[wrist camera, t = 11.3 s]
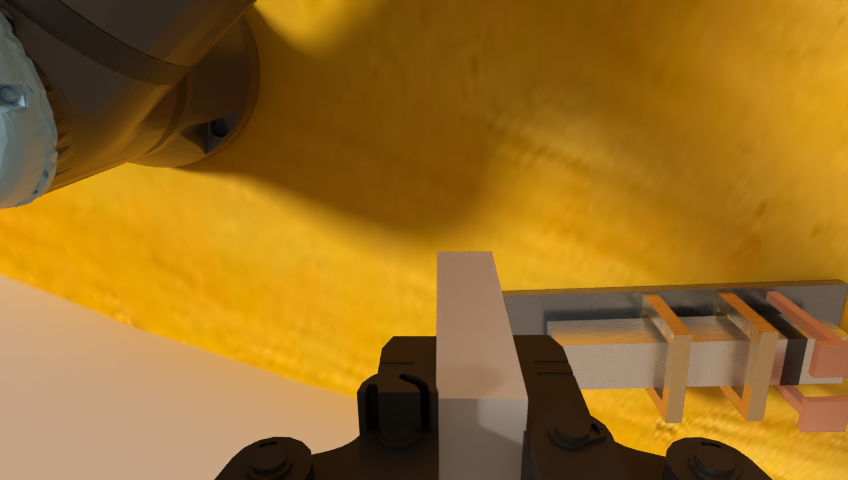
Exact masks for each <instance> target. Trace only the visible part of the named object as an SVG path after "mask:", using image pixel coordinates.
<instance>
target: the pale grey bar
mask: <svg viewBox="0 0 848 480" xmlns="http://www.w3.org/2000/svg"><path fill="white" fill-rule="evenodd" d="M807 314H809V315H810V316H811V317H813V318H814V319H815V320H817V321H818V322H819V323H821V324H822V325H823V326H825V327H826V328H828V329H829V330H830V331H832V332H833V333H834V334H836V335H837V336H838V337H840V338H841V339H842V340H848V334H847V333H846V332H844V331H843V330H842V329H840V328H839V327H837V326H836V325H835V324H833V323H832V322H830V321H829V320H828V319H826V318H825V317H823V316H822V315H821V314H819V313H807ZM759 315H760V316H761V317H762V318H763V319H764V320H765V321H767V322H768V323H769V324H770V325H771V326H772V327H773V328H775V329H776V330H777V331H778V332H779V335H778V340H777V345H776V351H775V356H774V362H773V367H772V373H771V378H770V384H769V385H780V386H785V385H799V384H829V383H842V382H843V378H844V377H839V378H813V377H812V376H811V375H810V374H808V372H809V367H810V362H811V358H812V353H813V348H814V343H815V341H816V340H815V339H814V338H813V337H811V336H810V335H809V334H808V333H806V332H805V331H804V330H803V329H801V328H800V327H799V326H797V325H796V324H795V323H794V322H792V321H791V320H790V319H789V318H787V317H786V316H785V315H784V314H759ZM678 318H679V319H680V320H681V322H682V323H683V324H684V325H685V326H686V327H687V329H688V330H689V331H690V332H691V333H692V334H693V336H692V344H691V352H690V360H689V368H688V376H687V384H686V387H705V386H744V384H745V378H746V372H747V366H748V360H749V354H750V348H751V342H752V340H751V339H750V338H749V337H748V336H747V335H746V334H745V333H743V332H742V331H741V330H740V329H739V328H738V327H737V326H736V325H735V324H734V323H733V322H732V321H731V320H730V319H729V318H728V317H727V316H705V317H678ZM547 335H550V336H551V337H552V338H553V339H554V340H555V341H557V342H558V343H559V344H560V345H561V346H562V347H563V348H564V351H565V353H566V356H567V358H568V361H569V364H570V366H571V368H572V371H573V376H575V378H576V381H577V383H578V386H579V388H580V389H622V388H663V387H664V380H665V371H666V362H667V353H668V344H669V343H668V341H667V340H666V339H665V337H664V336H663V335H662V333H661V332H660V331H659V329H658V328H657V327H656V325H655V324H654V323H653V321H652V320H651V319H650V318H639V319H606V320H574V321H547Z"/></svg>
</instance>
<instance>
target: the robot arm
mask: <svg viewBox="0 0 848 480" xmlns="http://www.w3.org/2000/svg"><path fill="white" fill-rule="evenodd" d="M256 1H257V0H0V209H3V208H11V207H18V206H21V205H25V204H29V203H31V202H32V201H33V200H34V199H36V198H38V197H40V196H42V195H44V194H46V193H49V192H51V191H54V190H57V189H59V188H62V187H64V186H67V185H69V184H72V183H75V182H77V181H80V180H82V179H85V178H88V177H90V176H93V175H95V174H98V173H101V172H103V171H106V170H108V169H111V168H114V167H116V166H119V165H121V164H124V163H127V162H129V163H134V164H139V165H144V166H151V167H176V166H183V165H187V164H191V163H194V162H197V161H200V160H202V159H204V158H206V157H209V156H211V155H213V154H215V153H217V152H218V151H220V150H222V149H223V148H225V147H226V146H227V145H228V144H230V143H231V142H232V141H233V140H234V139H235V138H236V137H237V136H238V135H239V134H240V132H241V131H242V130H243V128H244V127H245V125H246V124H247V122H248V120H249V118H250V116H251V114H252V112H253V109H254V106H255V103H256V99H257V94H258V88H259V62H258V55H257V50H256V46H255V43H254V39H253V36H252V34H251V31H250V29H249V27H248V24H247V22H246V20H245V18H244V17H243V14H244V13H245V12H246V11H247V10H248V9H249V8H250V7H251V6H252V5H253V4H254V3H255V2H256ZM357 401H358V416H359V431H360V435H359V436H358V437H357V438H356V439H355V440H353V441H352V442H350V443H349V444H346V445H344V446H343V447H339V448H336V449H334V450H330V451H326V452H322V453H317V454H313V455H311V450H310V449H309V448H308V447H307V446H306V445H305V444H304V443H303V442H301V441H299V440H296V439H293V438H291V437H272V438H268V439H263V440H259V441H257V442H255V443H253V444H251V445H248V446H247V447H244V448H243V449H242V450H241V451H240V452H239V453H238V454H237V455H235V456H234V457H233V458H232V459H231V460H230V462H229V463H228V464H227V465H226V466H225V468H224V469H223V470H222V471H221V472H220V474H219V475H218V476H217V477H216V478H215V480H772V479H771V478H770V477H769V476H768V475H767V474H766V473H765V472H764V471H762V470H761V469H760V468H759V467H758V466H757V465H756V464H755V463H754V462H753V461H752V460H751V459H749V458H748V457H746V456H745V455H744V454H742V453H741V452H740V451H738V450H737V449H735V448H733V447H731V446H728V445H726V444H724V443H721V442H719V441H715V440H711V439H706V438H702V437H693V438H683V439H680V440H678V441H675V442H673V443H672V444H671V446H670V447H669V448H668V449H667V452H666V457H664V456H660V455H655V454H651V453H647V452H643V451H638V450H635V449H632V448H629V447H625V446H623V445H621V444H619V443H617V442H615V441H614V438H613V436H612V434H611V433H610V431H609V430H608V429H607V427H606V426H605V425H604V424H603V423H601V422H600V421H598V420H597V419H596V418H594V417H593V416H591V415H590V413H589V410H588V408H587V406H586V403H585V401H584V398H583V396H582V393H581V391H580V388H579V386H578V383H577V381H576V378H575V376H573V371H572V368H571V366H570V364H569V361H568V358H567V356H566V353H565V351H564V348H563V347H562V346H561V345H560V344H559V343H558V342H557V341H555V340H554V339H553V338H552V337H551V336H550V335H512V332H511V328H510V324H509V319H508V315H507V311H506V307H505V303H504V299H503V295H502V291H501V287H500V283H499V279H498V275H497V271H496V267H495V263H494V259H493V255H492V252H437V336H393V337H392V338H391V339H390V341H389V342H388V343H387V344H386V345H385V346H384V347H383V348H382V352H381V357H380V365H379V368H378V374H375V375H373V376H371V377H370V378H368V379H367V380H366V381H364V382H363V383H362V384H361V386H360V388H359V389H358V391H357Z"/></svg>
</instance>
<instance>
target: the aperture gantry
mask: <svg viewBox="0 0 848 480" xmlns="http://www.w3.org/2000/svg"><path fill="white" fill-rule="evenodd" d="M766 301H767V302H769V303H770V304H771V305H772V306H774V307H775V308H776V309H777V310H779V311H780V312H781V313H782V314H784V315H785V316H786V317H787V318H789V319H790V320H791V321H792V322H794V323H795V324H796V325H797V326H799V327H800V328H801V329H803V330H804V331H805V332H806V333H808V334H809V335H810V336H811V337H813V338H814V339H815V340H816V341H815V343H814V348H813V353H812V358H811V362H810V367H809V372H808V374H810V375H811V376H812V377H813V378H839V377H848V340H842V339H841V338H840V337H838V336H837V335H836V334H834V333H833V332H832V331H830V330H829V329H828V328H826V327H825V326H823V325H822V324H821V323H819V322H818V321H817V320H815V319H814V318H813V317H811V316H810V315H809V314H807V313H806V312H805V311H803V310H802V309H801V308H799V307H798V306H796V305H795V304H794V303H792V302H791V301H790V300H788V299H787V298H786V297H784V296H783V295H782V294H780V293H779V292H778V291H772V292H767V297H766ZM773 386H774V387H775V388H776V389H777V391H778V392H779V393H780V394H781V395H782V396H783V397H784V398H785V399H786V400H787V401H788V402H789V403H790V404H791V405H792V406H793V407H794V408H795V409H796V410H797V411H798V412H799V413H800V415H799V420H798V424H797V428H798V429H799V430H800V431H801V432H845V428H846V424H847V420H848V397H847V396H832V397H804V396H803V395H802V394H801V393H800V392H799V391H798V390H797V389H796V388H795V387H794V386H793V385H785V386H780V385H773Z"/></svg>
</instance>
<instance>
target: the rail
mask: <svg viewBox="0 0 848 480" xmlns="http://www.w3.org/2000/svg"><path fill="white" fill-rule="evenodd" d="M847 288H848V284H846V283H845V282H843V281H841V280H816V281H786V282H756V283H726V284H696V285H665V286H635V287H605V288H575V289H545V290H515V291H502V295H503V299H504V303H505V307H506V311H507V315H508V319H509V324H510V328H511V332H512V335H547V321H574V320H606V319H639V318H650V319H651V320H652V321H653V323H654V324H655V325H656V327H657V328H658V329H659V331H660V332H661V333H662V335H663V336H664V337H665V339H666V340H667V341H668V343H669V344H668V353H667V362H666V371H665V380H664V387H663V388H645V389H646V390H647V392H648V394H649V396H650V397H651V399H652V401H653V402H654V404H655V406H656V408H657V409H658V411H659V413H660V414H661V416H662V418H663V420H664V421H665V423H682V416H683V408H684V400H685V392H686V384H687V376H688V368H689V360H690V352H691V344H692V336H693V334H692V333H691V332H690V331H689V330H688V329H687V327H686V326H685V325H684V324H683V323H682V322H681V320H680V319H679V318H678V317H705V316H727V317H728V318H729V319H730V320H731V321H732V322H733V323H734V324H735V325H736V326H737V327H738V328H739V329H740V330H741V331H742V332H743V333H745V334H746V335H747V336H748V337H749V338H750V339H751V340H752V342H751V348H750V354H749V360H748V366H747V372H746V378H745V384H744V386H718V387H719V388H720V389H721V390H722V392H723V393H724V394H725V395H726V397H727V398H728V399H729V400H730V402H731V403H732V404H733V405H734V407H735V408H736V409H737V410H738V412H739V413H740V414H741V415H742V417H743V418H744V419H745V420H746V421H763V416H764V411H765V405H766V400H767V394H768V389H769V384H770V378H771V373H772V367H773V362H774V356H775V351H776V345H777V340H778V335H779V332H778V331H777V330H776V329H775V328H773V327H772V326H771V325H770V324H769V323H768V322H767V321H765V320H764V319H763V318H762V317H761V316H760V315H759V314H782V313H781V312H780V311H779V310H777V309H776V308H775V307H774V306H772V305H771V304H770V303H769V302H767V301H766V297H767V292H772V291H778V292H779V293H780V294H782V295H783V296H784V297H786V298H787V299H788V300H790V301H791V302H792V303H794V304H795V305H796V306H798V307H799V308H801V309H802V310H803V311H805V312H806V313H819V314H821V315H822V316H823V317H825V318H826V319H828V320H829V321H830V322H832V323H833V324H835V325H836V326H837V327H839V324H840V320H841V315H842V311H843V306H844V302H845V297H846V293H847Z"/></svg>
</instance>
